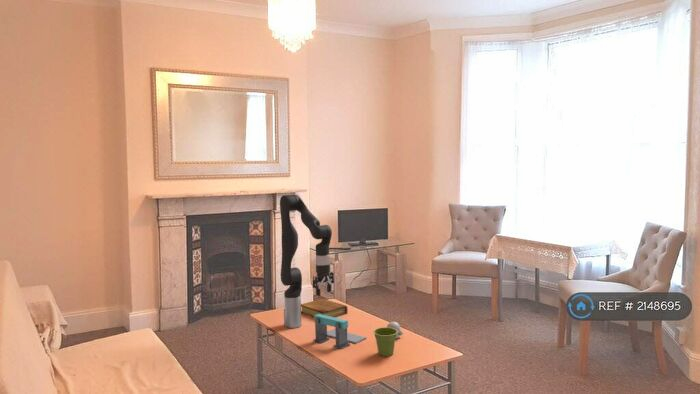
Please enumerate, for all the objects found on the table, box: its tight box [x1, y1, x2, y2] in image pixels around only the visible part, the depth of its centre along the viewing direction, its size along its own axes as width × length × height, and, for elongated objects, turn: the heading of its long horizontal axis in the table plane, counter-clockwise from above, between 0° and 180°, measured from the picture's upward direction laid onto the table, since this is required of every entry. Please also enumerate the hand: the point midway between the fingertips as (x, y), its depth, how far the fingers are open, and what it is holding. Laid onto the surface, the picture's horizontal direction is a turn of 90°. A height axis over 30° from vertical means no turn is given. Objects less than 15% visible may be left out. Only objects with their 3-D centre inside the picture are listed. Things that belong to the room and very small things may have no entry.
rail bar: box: [313, 314, 349, 329], centre depth 282 cm, size 20×4×4 cm, turn 50°
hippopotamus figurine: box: [386, 321, 404, 340], centre depth 287 cm, size 7×12×8 cm, turn 129°
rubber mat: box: [327, 328, 367, 345], centre depth 292 cm, size 23×9×1 cm, turn 50°
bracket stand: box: [313, 318, 351, 350], centre depth 282 cm, size 19×7×12 cm, turn 50°
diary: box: [301, 298, 349, 318], centre depth 336 cm, size 23×19×6 cm
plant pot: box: [372, 326, 398, 357], centre depth 266 cm, size 12×12×11 cm
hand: (323, 293), depth 287 cm, fingers open, 8 cm apart
